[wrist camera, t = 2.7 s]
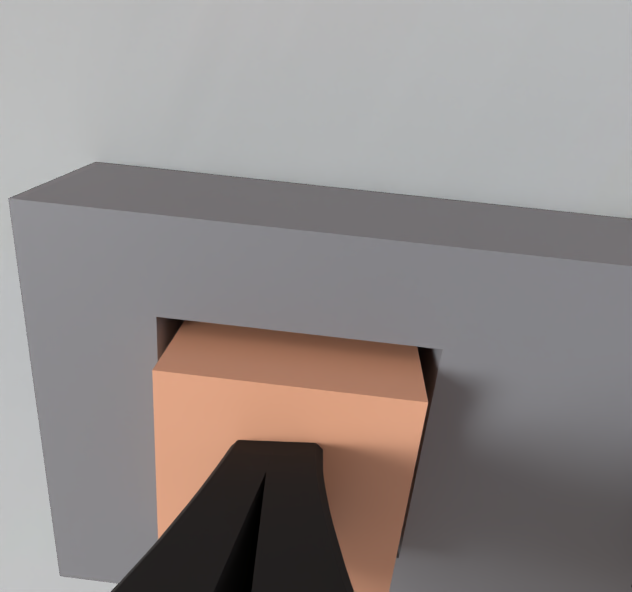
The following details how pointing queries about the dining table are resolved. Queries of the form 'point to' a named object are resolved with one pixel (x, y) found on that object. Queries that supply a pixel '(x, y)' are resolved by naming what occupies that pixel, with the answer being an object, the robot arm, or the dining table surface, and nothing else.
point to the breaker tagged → (296, 424)
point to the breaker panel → (352, 323)
